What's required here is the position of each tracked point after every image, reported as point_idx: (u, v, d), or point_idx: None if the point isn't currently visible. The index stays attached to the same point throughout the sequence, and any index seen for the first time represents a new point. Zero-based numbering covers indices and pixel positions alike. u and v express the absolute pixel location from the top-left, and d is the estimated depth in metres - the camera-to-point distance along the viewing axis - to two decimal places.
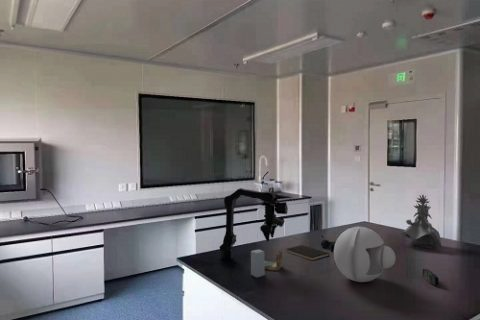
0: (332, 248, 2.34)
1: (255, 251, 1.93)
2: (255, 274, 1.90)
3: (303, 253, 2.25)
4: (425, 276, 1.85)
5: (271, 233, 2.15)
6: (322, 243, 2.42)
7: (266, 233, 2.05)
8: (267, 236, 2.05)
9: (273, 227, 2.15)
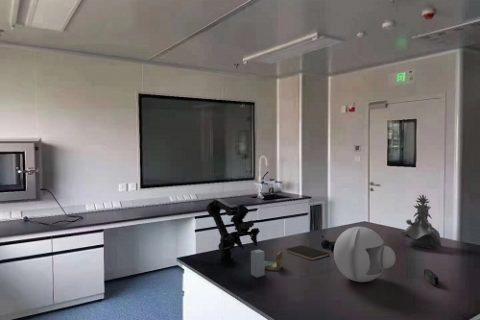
0: (332, 248, 2.34)
1: (255, 251, 1.93)
2: (255, 274, 1.90)
3: (303, 253, 2.25)
4: (426, 276, 1.85)
5: (254, 242, 2.03)
6: (322, 243, 2.42)
7: (237, 242, 1.99)
8: (239, 243, 1.98)
9: (253, 236, 2.05)
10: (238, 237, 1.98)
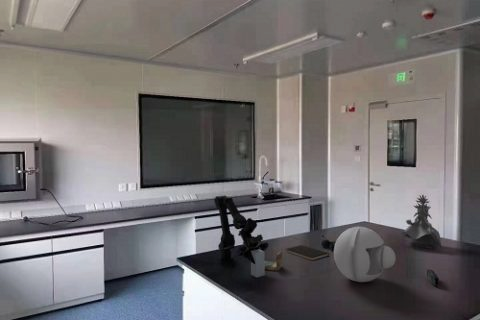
0: (333, 248, 2.34)
1: (255, 251, 1.93)
2: (255, 274, 1.90)
3: (303, 253, 2.25)
4: (428, 276, 1.84)
5: None
6: (323, 243, 2.42)
7: (248, 256, 1.93)
8: (250, 258, 1.91)
9: None
10: (249, 252, 1.92)
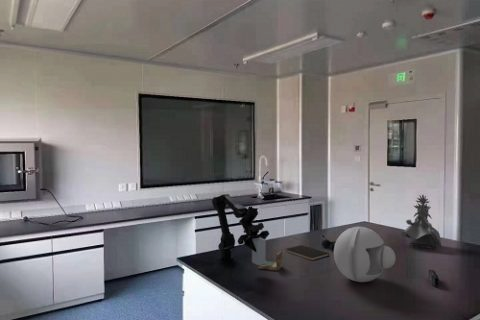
0: (333, 248, 2.34)
1: (256, 239, 1.93)
2: (256, 262, 1.91)
3: (303, 253, 2.25)
4: (430, 277, 1.84)
5: None
6: (323, 243, 2.42)
7: (249, 244, 1.93)
8: (252, 246, 1.92)
9: None
10: (251, 240, 1.92)
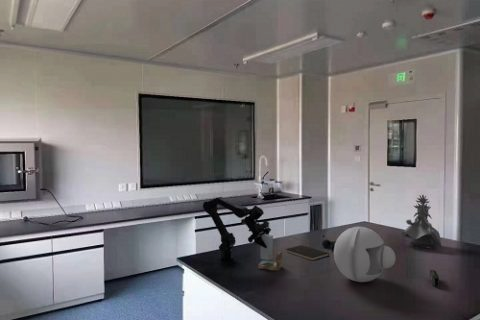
0: (333, 248, 2.34)
1: (265, 236, 2.05)
2: (267, 257, 2.03)
3: (303, 253, 2.25)
4: (431, 277, 1.84)
5: None
6: (323, 243, 2.43)
7: (259, 242, 2.03)
8: (262, 243, 2.02)
9: None
10: (261, 237, 2.02)
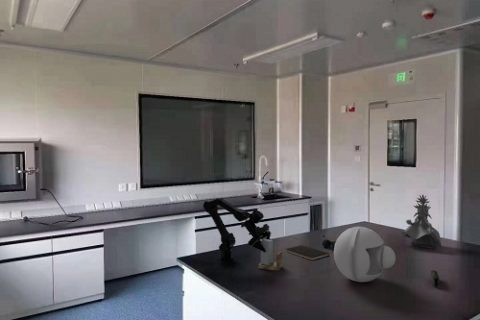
0: (333, 248, 2.34)
1: (265, 240, 2.05)
2: (267, 262, 2.03)
3: (303, 253, 2.25)
4: None
5: None
6: (323, 243, 2.43)
7: (258, 246, 2.02)
8: (261, 247, 2.01)
9: None
10: (260, 241, 2.01)
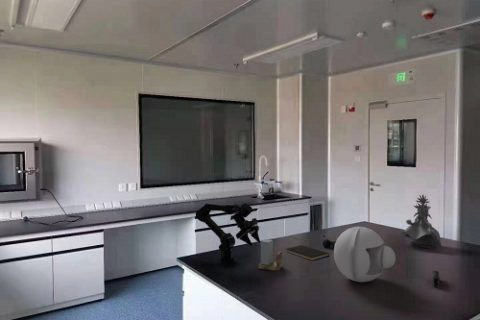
0: None
1: (265, 240, 2.05)
2: (267, 262, 2.03)
3: (303, 253, 2.25)
4: None
5: (256, 239, 2.14)
6: (324, 243, 2.43)
7: (245, 239, 2.06)
8: (248, 241, 2.05)
9: (255, 232, 2.15)
10: (247, 234, 2.05)
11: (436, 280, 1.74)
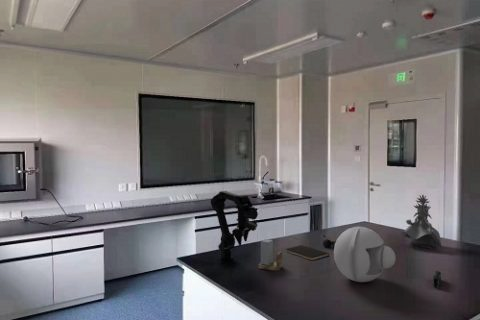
0: None
1: (265, 240, 2.05)
2: (267, 262, 2.03)
3: (303, 253, 2.25)
4: None
5: (244, 237, 2.13)
6: (324, 243, 2.43)
7: (238, 237, 2.03)
8: (239, 240, 2.03)
9: (246, 231, 2.13)
10: (242, 235, 2.02)
11: (436, 280, 1.73)
